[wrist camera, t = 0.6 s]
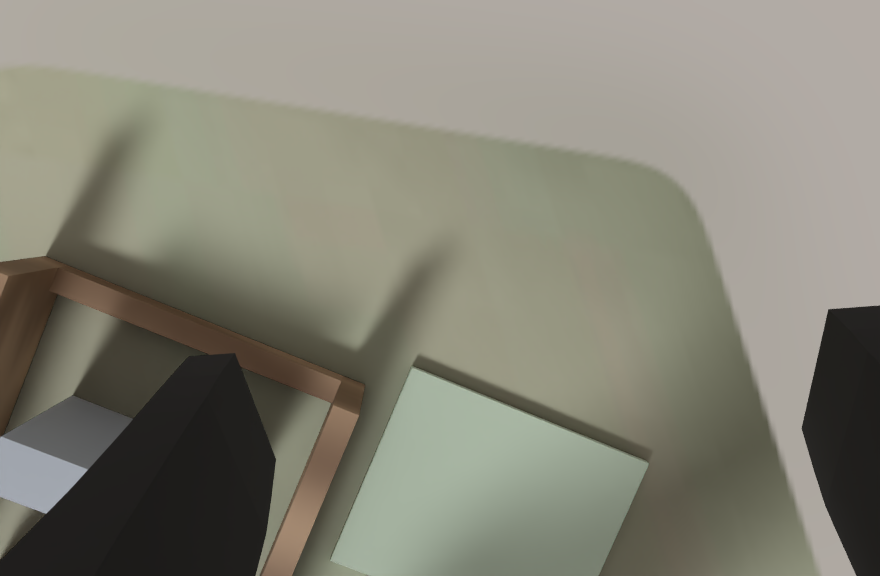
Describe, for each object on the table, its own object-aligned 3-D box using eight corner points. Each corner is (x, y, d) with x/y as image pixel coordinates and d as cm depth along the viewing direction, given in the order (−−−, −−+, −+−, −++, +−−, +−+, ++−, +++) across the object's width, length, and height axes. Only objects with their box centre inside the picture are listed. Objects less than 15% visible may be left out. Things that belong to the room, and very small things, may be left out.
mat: (563, 645, 35) (565, 650, 35) (330, 556, 34) (329, 560, 34) (646, 460, 34) (649, 463, 34) (411, 365, 33) (412, 367, 33)
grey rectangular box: (237, 507, 34) (202, 571, 28) (56, 438, 33) (-20, 489, 27) (254, 465, 34) (223, 520, 28) (73, 395, 33) (1, 436, 27)
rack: (224, 719, 34) (195, 804, 30) (-90, 606, 33) (-176, 676, 28) (365, 384, 33) (359, 415, 28) (44, 256, 32) (-20, 264, 27)
